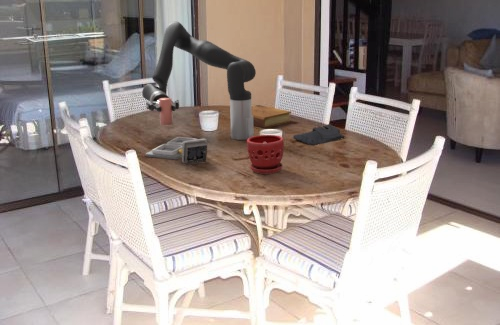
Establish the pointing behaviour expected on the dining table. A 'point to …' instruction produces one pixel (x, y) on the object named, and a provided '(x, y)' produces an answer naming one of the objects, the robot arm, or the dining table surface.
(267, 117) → the diary
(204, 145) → the electrical switch
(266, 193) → the dining table surface
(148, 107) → the robot arm
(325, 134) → the dark slate chunk
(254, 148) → the plant pot
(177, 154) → the grey compartment tray
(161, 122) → the pink cylinder
